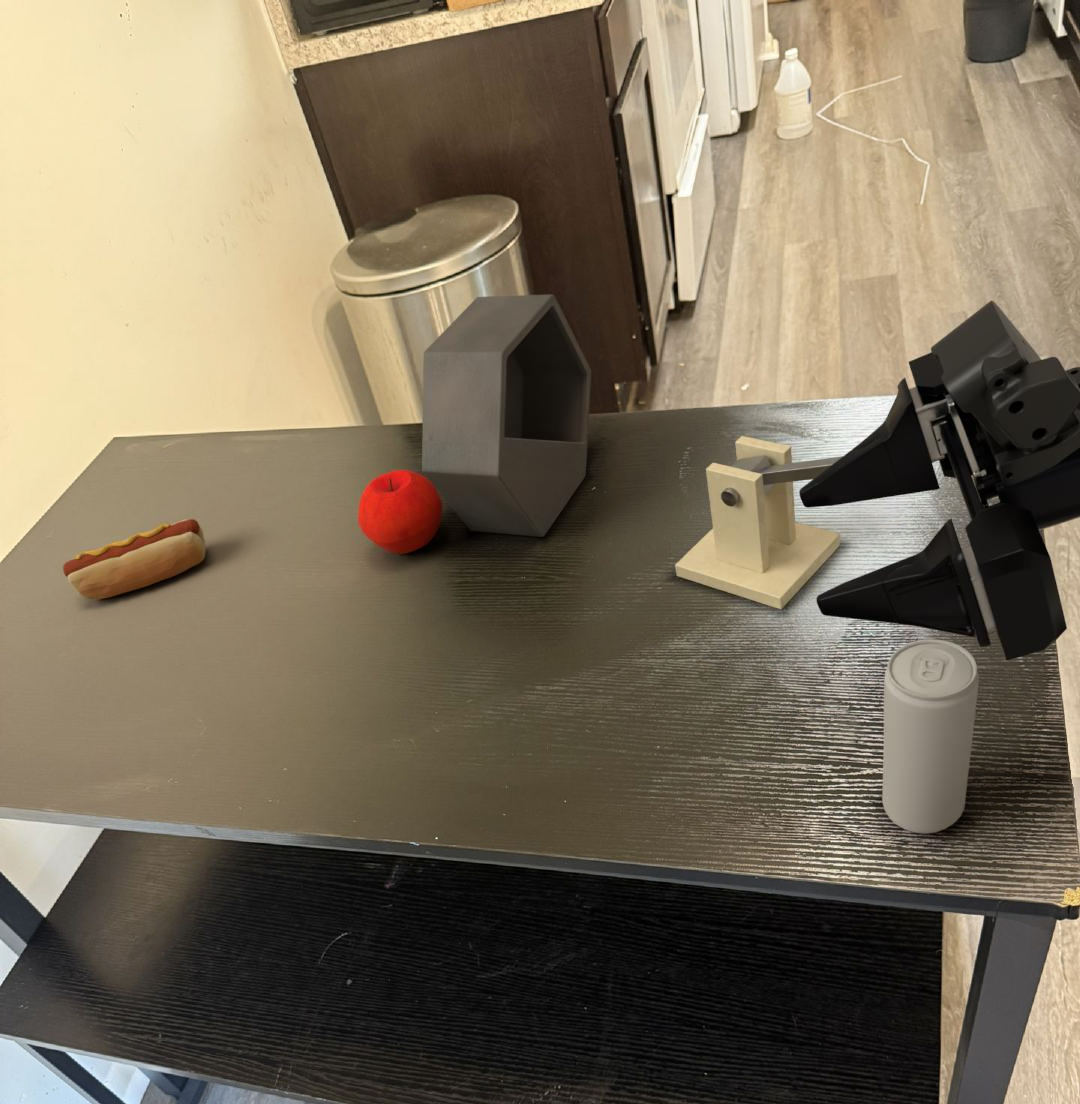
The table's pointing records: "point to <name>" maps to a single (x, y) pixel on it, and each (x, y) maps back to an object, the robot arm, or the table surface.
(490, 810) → the table surface
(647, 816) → the table surface
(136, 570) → the food
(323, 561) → the table surface
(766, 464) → the lever
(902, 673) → the beverage can
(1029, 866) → the table surface
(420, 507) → the apple
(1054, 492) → the robot arm
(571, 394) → the planter
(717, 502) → the bracket
